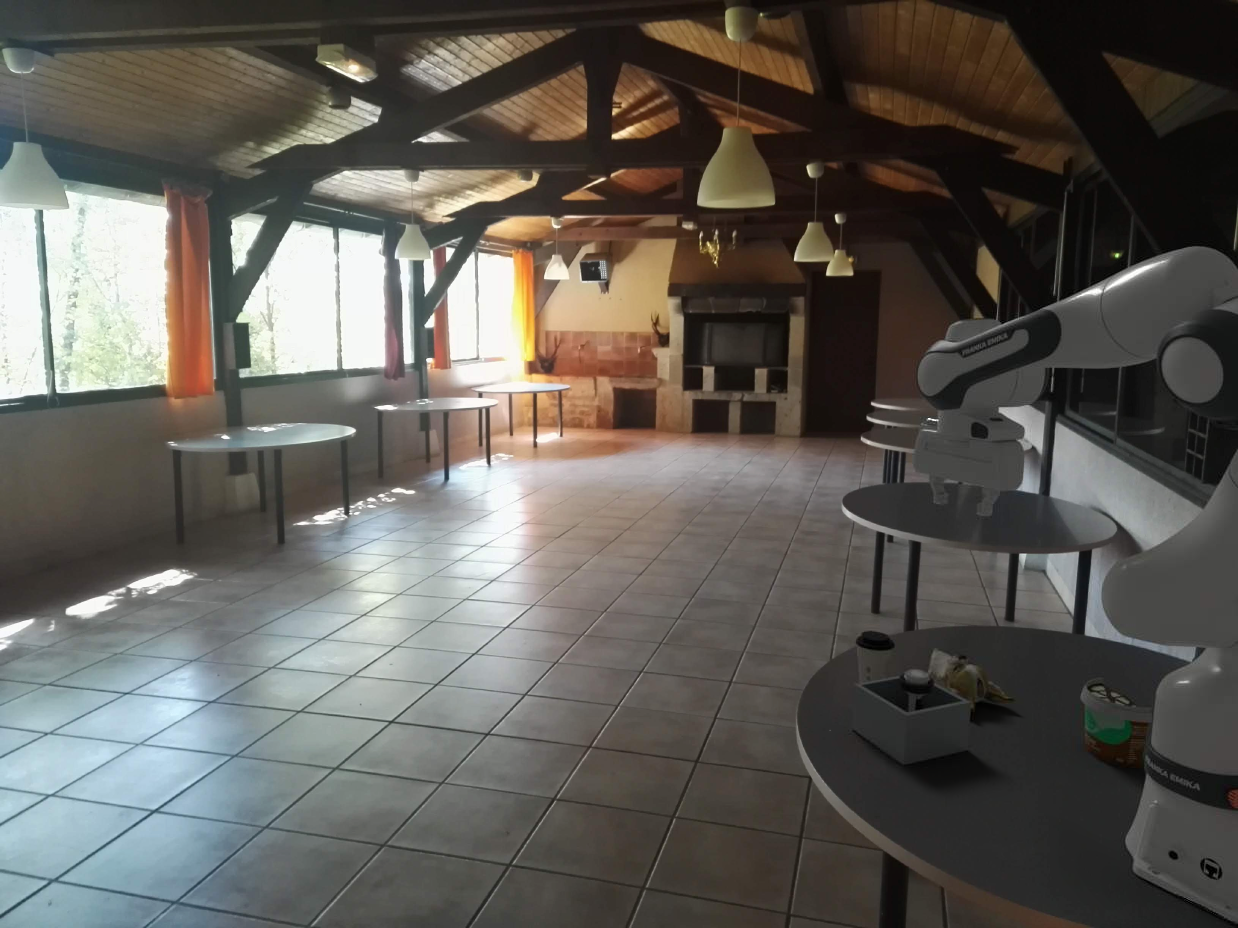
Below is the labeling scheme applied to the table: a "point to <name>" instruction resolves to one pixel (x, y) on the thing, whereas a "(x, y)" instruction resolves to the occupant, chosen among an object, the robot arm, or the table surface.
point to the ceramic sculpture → (964, 679)
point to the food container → (1114, 725)
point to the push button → (916, 687)
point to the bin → (910, 721)
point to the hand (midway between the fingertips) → (961, 509)
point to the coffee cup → (874, 655)
